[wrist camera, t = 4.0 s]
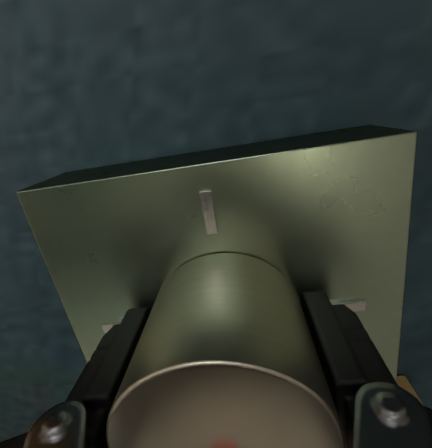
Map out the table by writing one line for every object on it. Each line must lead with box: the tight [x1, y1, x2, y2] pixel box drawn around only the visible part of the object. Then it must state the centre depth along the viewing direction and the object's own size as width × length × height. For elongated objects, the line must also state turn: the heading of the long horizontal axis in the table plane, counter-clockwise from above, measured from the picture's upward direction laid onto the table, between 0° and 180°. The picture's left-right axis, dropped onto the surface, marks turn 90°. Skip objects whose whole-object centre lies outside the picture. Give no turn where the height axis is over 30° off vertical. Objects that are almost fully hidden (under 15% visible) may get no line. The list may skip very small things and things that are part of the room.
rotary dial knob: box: [106, 253, 345, 448], centre depth 8 cm, size 5×5×5 cm
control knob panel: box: [17, 125, 417, 382], centre depth 12 cm, size 11×12×3 cm
